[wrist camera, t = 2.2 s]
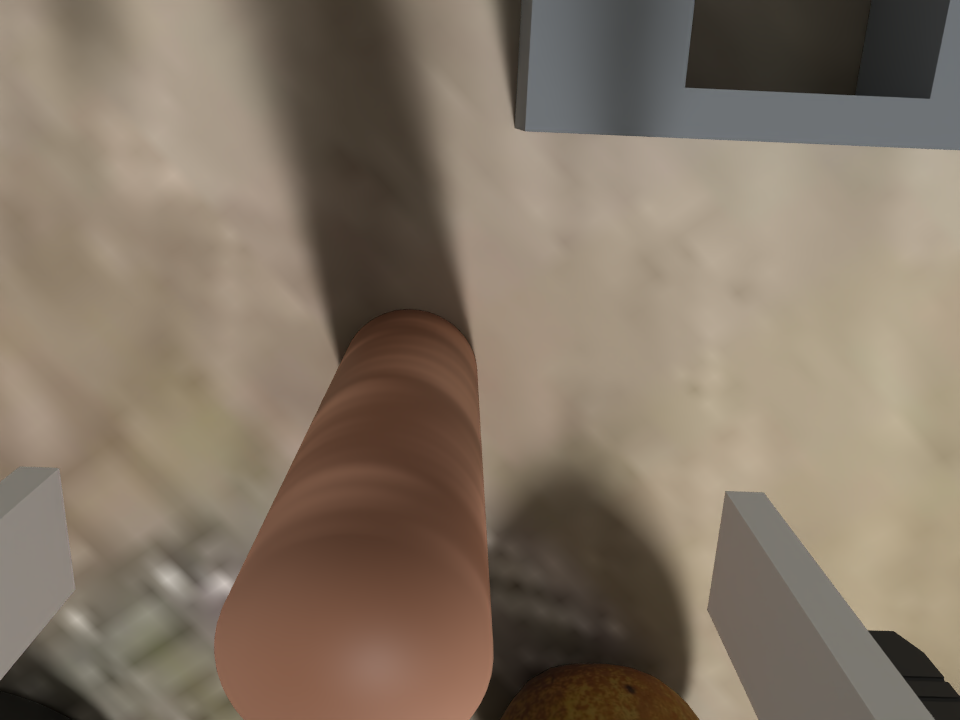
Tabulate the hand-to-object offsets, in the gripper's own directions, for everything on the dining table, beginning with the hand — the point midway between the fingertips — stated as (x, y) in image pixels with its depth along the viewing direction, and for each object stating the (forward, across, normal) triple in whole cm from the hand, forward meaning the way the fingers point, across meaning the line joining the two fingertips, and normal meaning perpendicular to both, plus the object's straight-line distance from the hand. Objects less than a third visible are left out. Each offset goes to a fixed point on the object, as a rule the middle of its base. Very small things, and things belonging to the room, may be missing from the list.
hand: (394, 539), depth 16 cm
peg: (+11, 0, 0) cm, 11 cm away
